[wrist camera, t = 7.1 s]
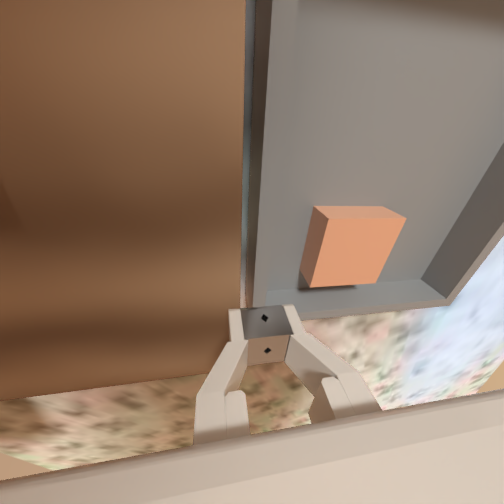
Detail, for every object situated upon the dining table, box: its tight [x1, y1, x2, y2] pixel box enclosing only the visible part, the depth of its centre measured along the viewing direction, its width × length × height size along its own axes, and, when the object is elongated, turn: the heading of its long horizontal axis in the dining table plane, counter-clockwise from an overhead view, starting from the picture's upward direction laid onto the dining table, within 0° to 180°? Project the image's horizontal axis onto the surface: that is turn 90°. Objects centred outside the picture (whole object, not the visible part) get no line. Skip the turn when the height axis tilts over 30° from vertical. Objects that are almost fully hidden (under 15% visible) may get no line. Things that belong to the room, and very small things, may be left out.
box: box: [245, 0, 504, 321], centre depth 14 cm, size 24×20×4 cm
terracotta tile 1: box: [300, 206, 407, 287], centre depth 17 cm, size 6×6×2 cm
